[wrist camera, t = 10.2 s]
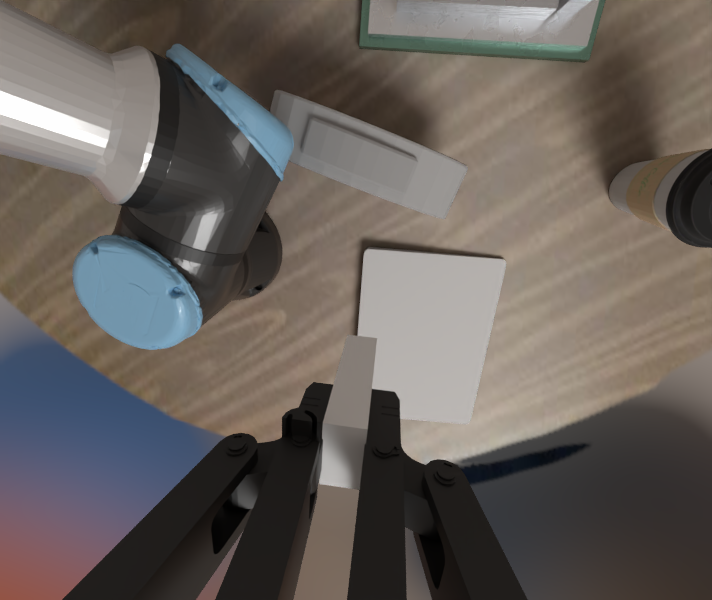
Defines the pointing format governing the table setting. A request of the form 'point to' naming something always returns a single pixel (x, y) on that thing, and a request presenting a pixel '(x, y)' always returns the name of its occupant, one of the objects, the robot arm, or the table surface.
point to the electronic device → (429, 327)
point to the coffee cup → (670, 194)
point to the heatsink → (483, 27)
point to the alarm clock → (369, 156)
